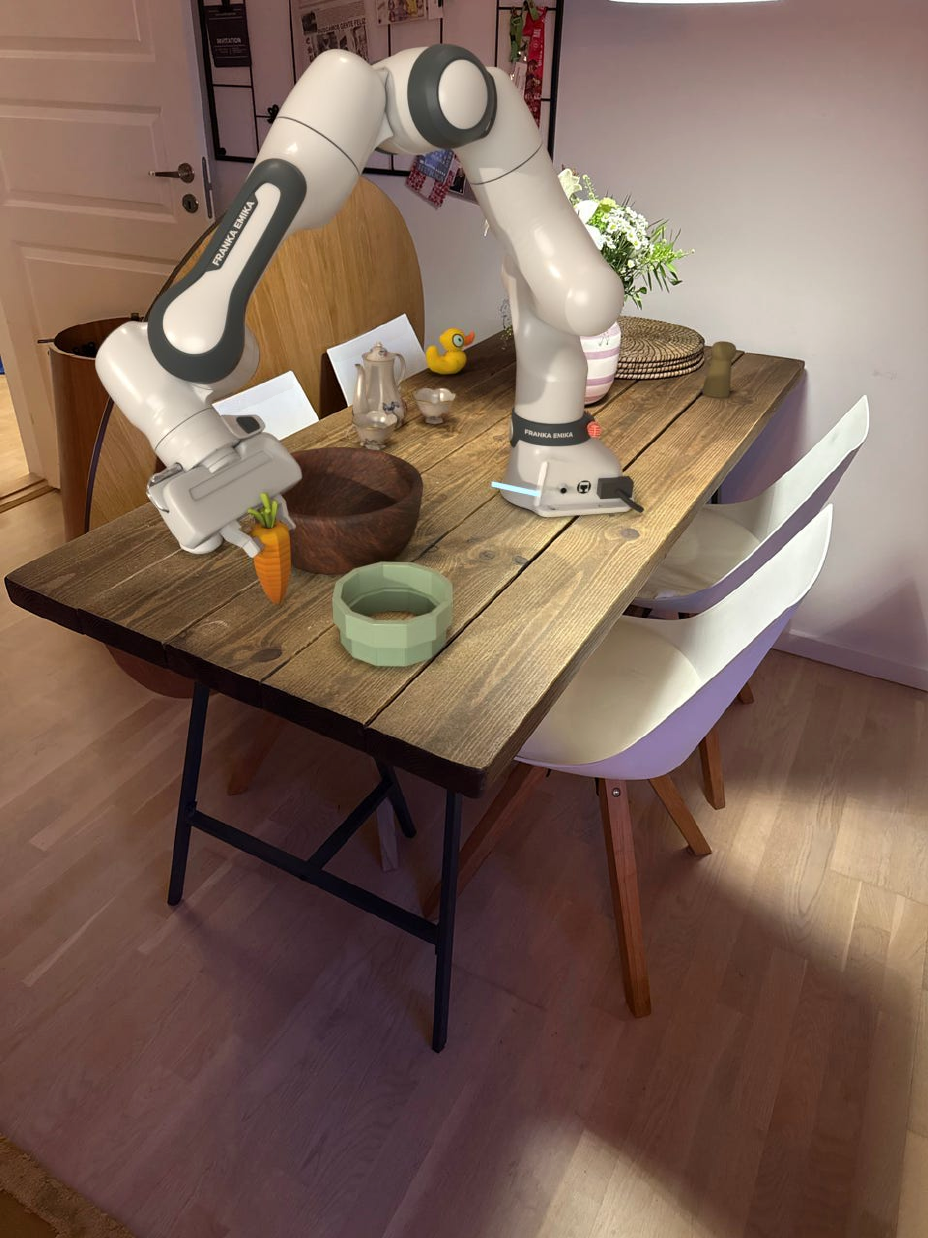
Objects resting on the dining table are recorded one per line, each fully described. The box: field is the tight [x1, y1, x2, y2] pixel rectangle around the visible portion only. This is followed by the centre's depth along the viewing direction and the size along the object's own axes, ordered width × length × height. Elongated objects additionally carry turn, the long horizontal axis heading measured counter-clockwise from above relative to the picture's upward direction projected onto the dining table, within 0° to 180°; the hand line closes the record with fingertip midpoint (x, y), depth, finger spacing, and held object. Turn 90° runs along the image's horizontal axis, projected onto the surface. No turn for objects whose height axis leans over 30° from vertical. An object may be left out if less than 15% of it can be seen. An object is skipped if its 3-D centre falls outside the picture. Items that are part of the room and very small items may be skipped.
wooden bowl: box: [252, 446, 424, 576], centre depth 127 cm, size 25×25×10 cm
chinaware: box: [345, 340, 458, 451], centre depth 165 cm, size 28×17×17 cm, turn 148°
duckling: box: [425, 327, 476, 375], centre depth 195 cm, size 11×5×10 cm, turn 111°
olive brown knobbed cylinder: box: [701, 340, 737, 398], centre depth 189 cm, size 6×6×11 cm
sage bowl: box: [331, 561, 454, 667], centre depth 109 cm, size 15×15×7 cm
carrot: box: [247, 493, 292, 606], centre depth 107 cm, size 5×5×15 cm
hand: (275, 542), depth 106 cm, fingers closed on carrot, 5 cm apart
